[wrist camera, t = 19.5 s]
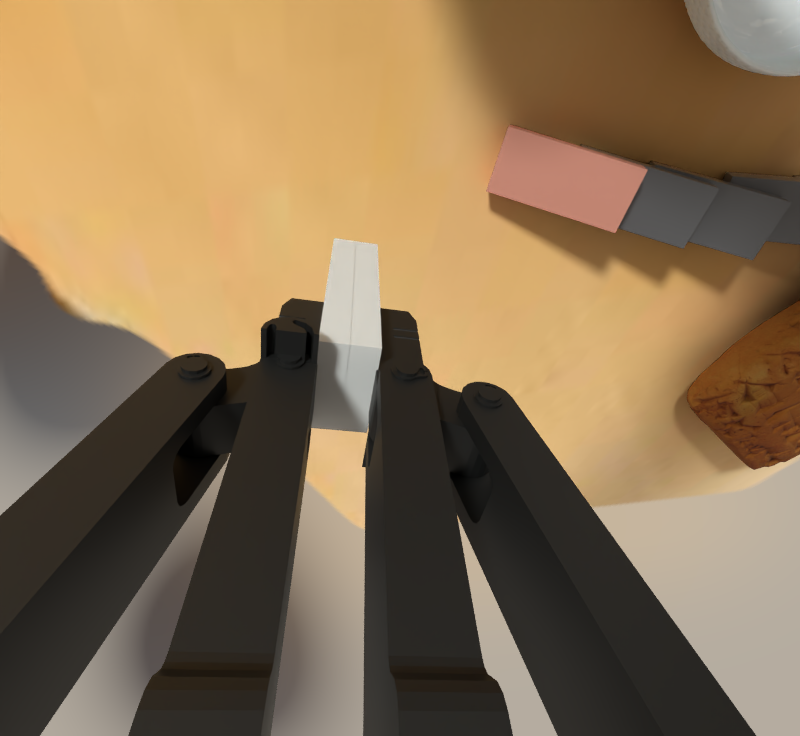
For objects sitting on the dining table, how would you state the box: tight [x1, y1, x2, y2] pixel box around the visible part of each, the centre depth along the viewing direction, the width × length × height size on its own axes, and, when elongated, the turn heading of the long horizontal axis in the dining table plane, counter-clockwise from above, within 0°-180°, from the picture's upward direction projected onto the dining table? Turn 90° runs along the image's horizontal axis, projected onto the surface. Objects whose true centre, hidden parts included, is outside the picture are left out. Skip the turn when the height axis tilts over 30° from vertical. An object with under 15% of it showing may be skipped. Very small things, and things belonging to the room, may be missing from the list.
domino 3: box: [649, 161, 792, 260], centre depth 41 cm, size 5×2×11 cm
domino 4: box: [723, 172, 800, 245], centre depth 41 cm, size 5×2×11 cm
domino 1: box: [486, 124, 648, 233], centre depth 39 cm, size 5×2×11 cm
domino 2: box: [580, 144, 719, 249], centre depth 40 cm, size 5×2×11 cm
